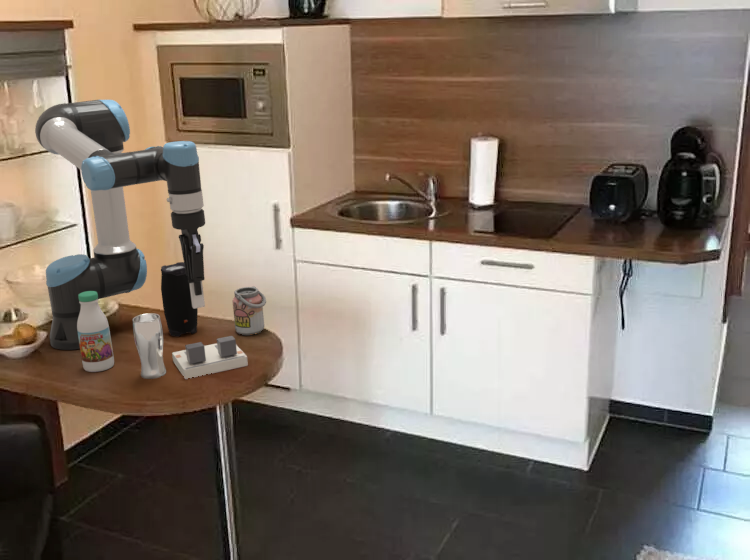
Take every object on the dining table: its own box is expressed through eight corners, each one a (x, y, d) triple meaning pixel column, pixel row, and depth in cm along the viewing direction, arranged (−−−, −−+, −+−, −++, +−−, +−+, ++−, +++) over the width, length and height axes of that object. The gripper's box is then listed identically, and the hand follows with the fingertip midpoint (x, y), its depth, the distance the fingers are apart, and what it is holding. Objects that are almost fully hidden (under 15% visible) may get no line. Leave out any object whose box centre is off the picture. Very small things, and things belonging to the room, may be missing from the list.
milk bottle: (82, 364, 216) (71, 291, 210) (113, 358, 219) (102, 286, 213) (84, 375, 209) (71, 300, 203) (115, 369, 212) (104, 295, 206)
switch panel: (173, 361, 215) (171, 352, 214) (232, 348, 221) (232, 339, 221) (185, 379, 204) (184, 369, 203) (247, 365, 210) (247, 356, 209)
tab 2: (218, 353, 211) (216, 338, 210) (233, 350, 213) (232, 335, 212) (221, 357, 209) (220, 342, 207) (236, 354, 210) (235, 339, 209)
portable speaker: (198, 336, 232) (190, 269, 226) (164, 338, 231) (155, 271, 225) (201, 325, 240) (194, 260, 234) (169, 327, 239) (160, 262, 233)
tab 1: (187, 359, 208) (185, 345, 207) (202, 356, 210) (201, 341, 208) (190, 364, 205) (188, 349, 204) (205, 360, 207) (204, 345, 206)
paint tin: (273, 328, 235) (270, 287, 231) (256, 338, 228) (252, 297, 224) (247, 324, 239) (243, 284, 236) (229, 334, 232) (225, 293, 228)
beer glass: (139, 381, 204) (131, 324, 199) (139, 370, 210) (131, 315, 206) (168, 377, 206) (161, 320, 201) (167, 366, 212) (160, 311, 207)
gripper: (164, 207, 195) (176, 302, 202) (178, 217, 184) (190, 317, 191) (195, 202, 198) (206, 296, 205) (211, 212, 187) (221, 311, 194)
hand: (198, 306), depth 198 cm, fingers closed
